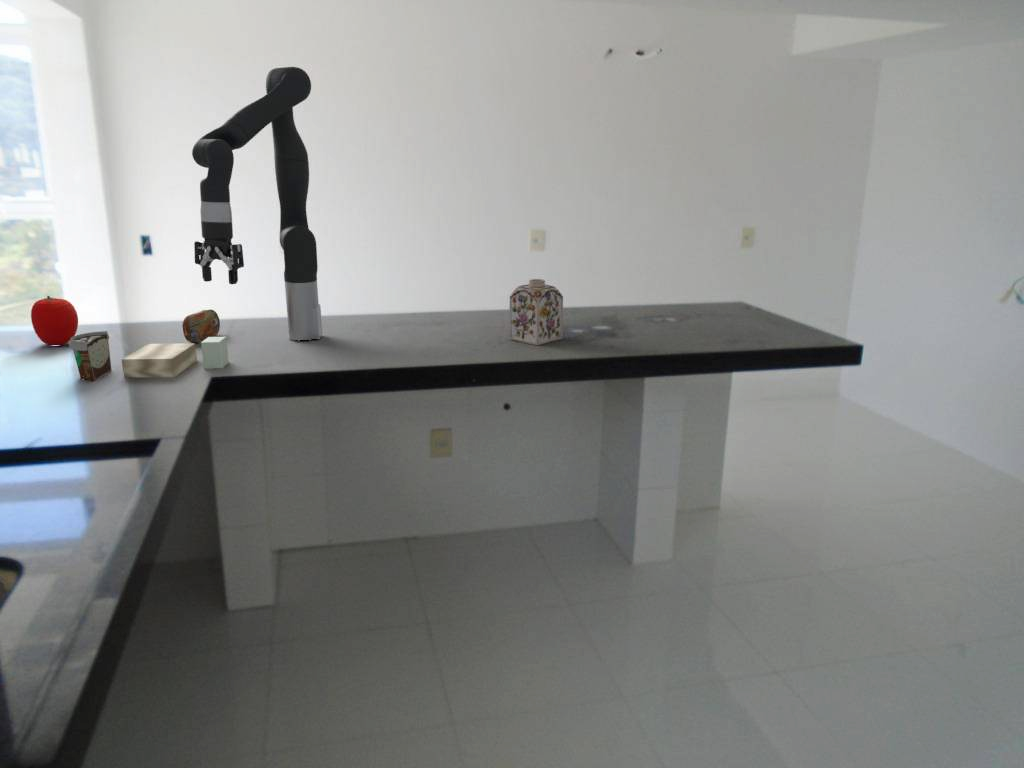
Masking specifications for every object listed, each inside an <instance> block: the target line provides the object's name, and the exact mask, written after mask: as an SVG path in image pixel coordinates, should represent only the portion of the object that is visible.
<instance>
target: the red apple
mask: <svg viewBox="0 0 1024 768" xmlns="http://www.w3.org/2000/svg"><path fill="white" fill-rule="evenodd" d="M30 318H31V324H32V328H33V331H34V333H35V334H36V336H37V337H38V338H39V340H41V342H43V344H45V345H47V346H50V345H62V346H64V344H65V345H67V344H68V343H70V341H71V338H72V337H74V336H76V334H77V330H78V325H79V317H78V312H77V310H76V308H75V306H74V305H73V304H72V303H71V302H70V301H69V300H67V299H64V298H57V297H50V295H47V297H44V298H41V299H39V300H36V301H34V304H33V305H32V307H31V310H30Z"/></svg>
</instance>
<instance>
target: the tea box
mask: <svg viewBox="0 0 1024 768" xmlns="http://www.w3.org/2000/svg"><path fill="white" fill-rule="evenodd" d="M200 345H201V354H202V362H203V369H204V370H212V369H213V368H222V369H224V368H225V367H226V366H227V365H228V364H229V363H230V359H229V351H228V350H229V349H228V341H227V336H215V337H208V338H206V339H205V340H204V341H202V342H201V343H200ZM228 362H229V363H228ZM227 363H228V364H227ZM226 364H227V365H226ZM225 365H226V366H225ZM224 366H225V367H224Z"/></svg>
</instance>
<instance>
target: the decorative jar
mask: <svg viewBox="0 0 1024 768" xmlns="http://www.w3.org/2000/svg"><path fill="white" fill-rule="evenodd" d="M508 318H509V321H508V323H509V325H508V327H509V341H515V342H519V343H524V344H529V345H532V346H533V345H534V346H541V345H544V344H548V343H549V344H550V343H553V342H556V341H561V340H562V339H563V328H564V327H563V324H564V296H563V295H562V293H561V292H560V290H559V289H557V287H556V286H554V285H549V284H546V280H545V279H542V278H532V279H529V280H528V284H522V285H519V286H517V287H516V288H515V289H514V290H513V291H512V293H511V294H510V295H509V317H508Z"/></svg>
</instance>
